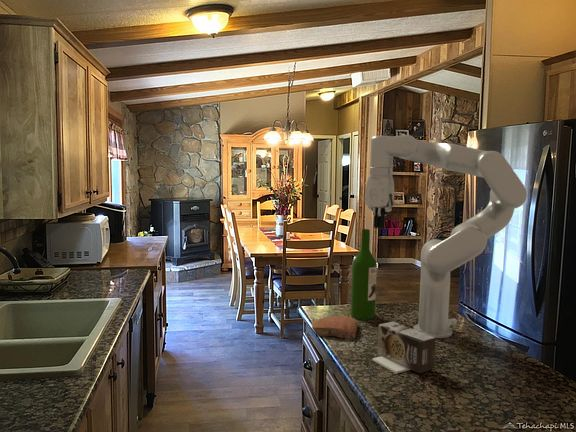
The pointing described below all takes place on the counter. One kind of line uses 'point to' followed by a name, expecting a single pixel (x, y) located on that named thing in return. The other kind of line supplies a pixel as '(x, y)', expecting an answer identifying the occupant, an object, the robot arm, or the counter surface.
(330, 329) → the ceramic shard
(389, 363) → the white flat panel
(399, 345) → the coffee box
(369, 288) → the wine bottle
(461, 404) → the counter surface
